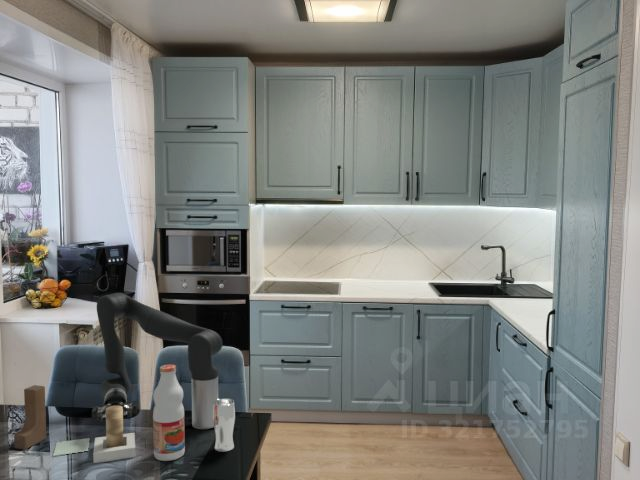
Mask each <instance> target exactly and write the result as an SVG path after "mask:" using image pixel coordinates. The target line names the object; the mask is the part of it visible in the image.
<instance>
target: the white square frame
mask: <svg viewBox="0 0 640 480" xmlns="http://www.w3.org/2000/svg"><path fill="white" fill-rule="evenodd" d="M135 434H136V433H135V432H129V433H128V432H127V433H123V446H119V447H112V448H106V435H105V436H99V437H95V438H94V443H93V444H94V445H93V452H92V455H93V457H92V458H93V464H98V463H104V462H105V463H106V462H111V461H118V460H125V459H131V458H136V435H135Z"/></svg>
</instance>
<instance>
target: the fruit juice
mask: <svg viewBox="0 0 640 480" xmlns="http://www.w3.org/2000/svg"><path fill="white" fill-rule="evenodd" d="M176 372H177V366H176V365H175V364H164V365H161V366H159V373H160V379H159V381H158V384H157V386H156V387H155V388H154V390H153V395H152V398H153V403H154V407H153V409H152V410H153V411H152V427H153V428H152V429H153V431H152V432H153V433H152V434H153V439H152V440H153V441H152V442H153V456H154V458H155V459H156V460H158V461H161V462H169V461H174V460H178V459H180V458H181V457H183V456H184V454H185V450H186V445H185V444H186V442H185V441H186V439H185V437H186V436H185V435H186V434H185V433H186V431H185V408H184V404H183V400H184V390H183V387H182V385H180V383H179V381H178V377H177V375H176Z"/></svg>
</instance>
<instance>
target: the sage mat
mask: <svg viewBox="0 0 640 480" xmlns="http://www.w3.org/2000/svg"><path fill="white" fill-rule="evenodd" d="M89 441H91V438H90V437H87V438H79V439H73V440H71V439H70V440H65V441H63V440H62V441H57V442H56V443H55V448H54V451H53V454H52V457H53V458H55V457H61V455H62V456H66V454H69V455H73V454H72V453H76V454H79V453H78V452H83V453H85V452H84V451H88V452H89V449H90V442H89ZM88 448H89V449H88Z"/></svg>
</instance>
